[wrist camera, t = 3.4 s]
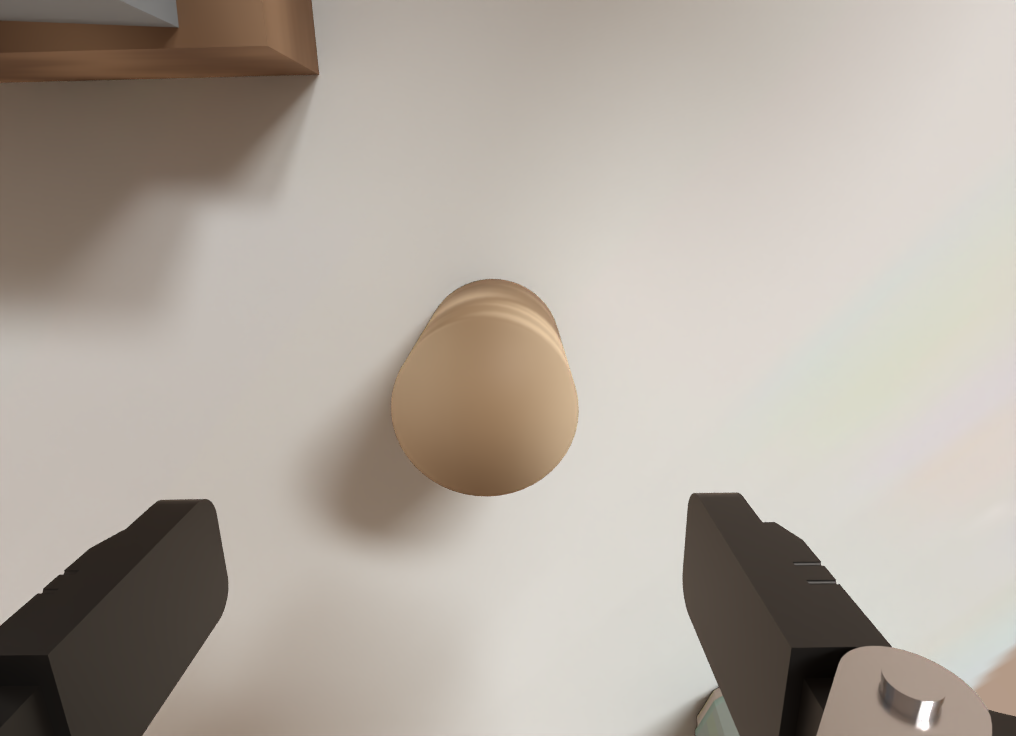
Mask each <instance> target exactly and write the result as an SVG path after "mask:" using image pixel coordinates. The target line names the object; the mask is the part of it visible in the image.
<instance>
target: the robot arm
mask: <svg viewBox="0 0 1016 736" xmlns="http://www.w3.org/2000/svg"><path fill="white" fill-rule="evenodd" d="M64 571H65V572H64V575H59V576H57V577H56V578H55V579H54V580H53V581H52V582H50V583H49V584H48V585H47V586H46V587H45V588H43V593H42V594H37V595H35V596H34V597H33V598H32V599H31V600H30V601H28V602H27V603H26V604H25V605H24V606H23V607H21V608H20V609H19V610H18V611H17V612H16V613H15V614H13V615H12V616H11V617H10V618H9V619H8V620H6V621H5V622H4V623H3V624H2V625H1V626H0V736H142V735H143V733H144V732H145V730H146V729H147V727H148V726H149V724H150V723H151V721H152V720H153V718H154V717H155V715H156V714H157V712H158V711H159V709H160V708H161V706H162V705H163V703H164V702H165V700H166V699H167V697H168V696H169V694H170V693H171V691H172V690H173V689H174V687H175V686H176V684H177V683H178V681H179V680H180V678H181V677H182V675H183V674H184V672H185V671H186V669H187V668H188V666H189V665H190V663H191V662H192V660H193V659H194V657H195V656H196V654H197V653H198V651H199V650H200V648H201V647H202V645H203V644H204V642H205V641H206V639H207V638H208V636H209V635H210V633H211V632H212V630H213V629H214V627H215V626H216V624H217V623H218V621H219V619H220V618H221V616H222V614H223V611H224V609H225V605H226V601H227V596H228V576H227V570H226V564H225V559H224V553H223V547H222V542H221V536H220V530H219V524H218V519H217V513H216V510H215V507H214V505H213V504H212V502H211V501H209V500H207V499H185V500H160V501H157V502H156V503H154V504H153V505H152V506H151V507H150V508H149V509H148V510H147V511H145V512H144V513H143V514H142V515H141V516H140V517H139V518H138V519H136V520H135V521H134V522H133V523H132V524H131V525H130V526H129V527H128V528H126V529H125V530H123V531H121V532H119V533H117V534H116V535H114V536H112V537H110V538H108V539H106V540H105V541H103V542H101V543H99V544H97V545H95V546H94V547H92V548H90V549H89V550H87V551H86V552H85V553H84V554H83V555H82V556H81V557H79V558H78V559H77V560H76V561H75V562H74V563H72V564H71V565H70V566H69V567H68V568H67V569H65V570H64ZM683 592H684V599H685V604H686V608H687V611H688V614H689V617H690V619H691V621H692V624H693V626H694V629H695V631H696V633H697V636H698V638H699V640H700V643H701V645H702V648H703V650H704V652H705V655H706V657H707V659H708V662H709V664H710V667H711V669H712V671H713V674H714V676H715V678H716V681H717V683H718V686H719V688H720V690H721V693H722V695H723V697H724V700H725V702H726V705H727V707H728V709H729V712H730V714H731V716H732V719H733V721H734V724H735V726H736V728H737V731H738V733H739V735H740V736H1016V717H1015V716H1011V715H1006V714H1002V713H998V712H994V711H991V710H988V709H987V707H986V706H985V704H984V703H983V701H982V700H981V698H980V697H979V696H978V695H977V694H976V692H975V691H974V690H973V689H972V688H971V687H970V686H969V685H967V684H966V683H965V682H964V681H963V680H962V679H960V678H959V677H958V676H956V675H955V674H954V673H952V672H951V671H949V670H947V669H946V668H944V667H943V666H941V665H939V664H937V663H935V662H933V661H931V660H929V659H927V658H925V657H922V656H920V655H917V654H914V653H911V652H908V651H905V650H901V649H897V648H892V646H891V645H890V644H889V643H888V642H887V640H886V639H885V638H884V637H883V636H882V634H881V633H880V632H879V631H878V630H877V628H876V627H875V626H874V625H873V624H872V622H871V621H870V620H869V619H868V618H867V616H866V615H865V614H864V613H863V612H862V611H861V609H860V608H859V607H858V606H857V605H856V603H855V602H854V601H853V600H852V599H851V597H850V596H849V595H848V594H847V593H846V591H845V590H844V589H843V588H842V587H841V585H840V584H836V579H835V578H834V577H833V576H832V575H831V573H830V572H829V571H828V570H827V569H826V567H825V566H821V561H820V560H819V559H818V558H817V557H816V555H815V554H814V553H813V552H812V551H811V549H810V548H809V547H808V546H807V545H806V543H805V542H804V541H803V540H802V539H800V538H799V537H797V536H796V535H794V534H793V533H791V532H789V531H788V530H786V529H785V528H783V527H782V526H780V525H778V524H777V523H775V522H762V521H761V520H760V519H759V517H758V516H757V515H756V513H755V512H754V511H753V509H752V508H751V507H750V505H749V504H748V503H747V501H746V500H745V499H744V497H743V496H742V495H741V494H739V493H693V494H692V495H691V497H690V499H689V503H688V511H687V524H686V537H685V550H684V563H683Z"/></svg>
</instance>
